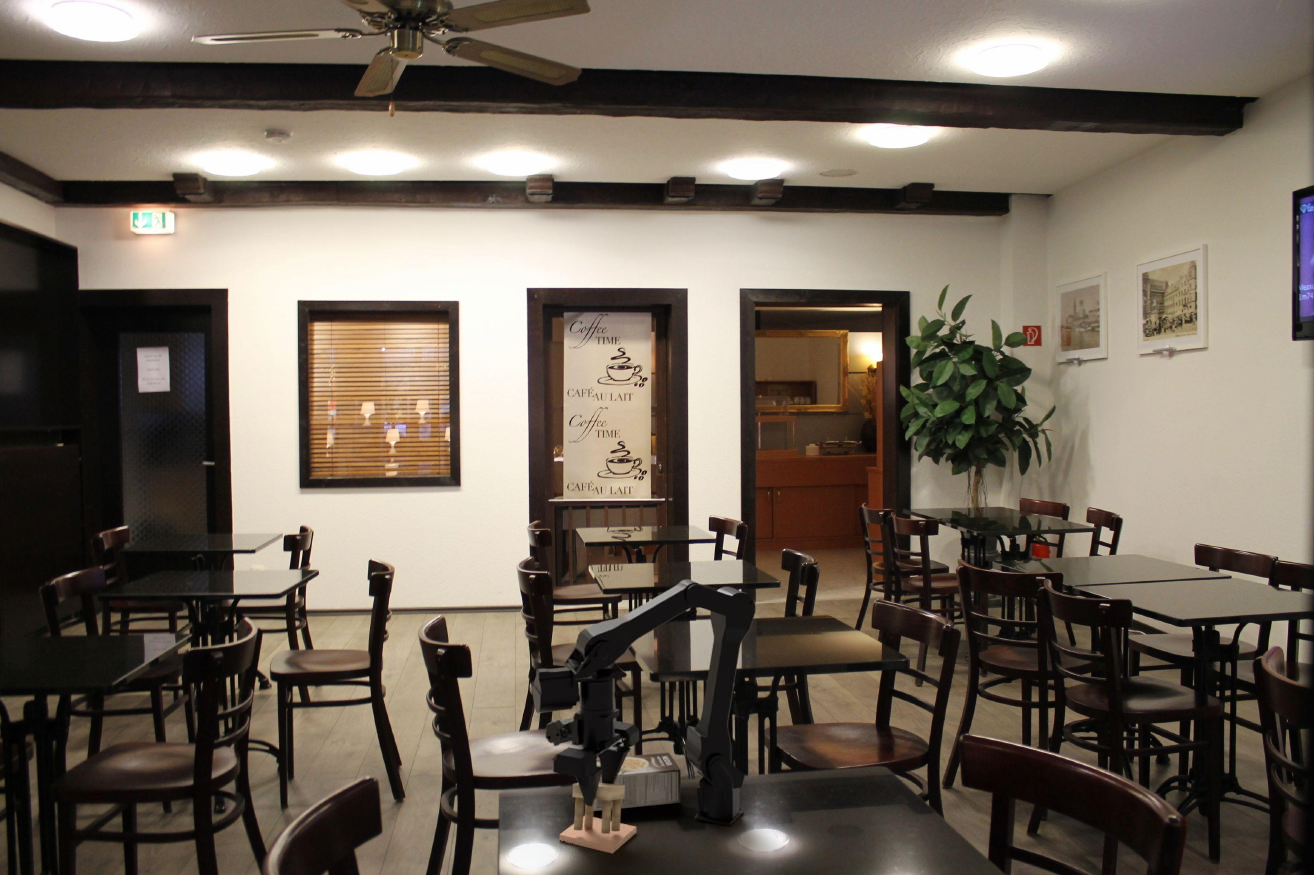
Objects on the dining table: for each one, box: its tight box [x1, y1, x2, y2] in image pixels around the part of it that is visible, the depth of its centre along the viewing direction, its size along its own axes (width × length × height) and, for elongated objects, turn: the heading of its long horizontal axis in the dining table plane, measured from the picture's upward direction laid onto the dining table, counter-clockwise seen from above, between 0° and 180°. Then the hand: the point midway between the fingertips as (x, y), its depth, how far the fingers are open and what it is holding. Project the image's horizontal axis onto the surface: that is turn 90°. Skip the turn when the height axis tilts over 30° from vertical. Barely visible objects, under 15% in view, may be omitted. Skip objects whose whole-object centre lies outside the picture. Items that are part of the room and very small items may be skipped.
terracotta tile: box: [559, 815, 637, 854], centre depth 148 cm, size 10×8×1 cm
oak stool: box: [572, 782, 625, 834], centre depth 147 cm, size 7×5×7 cm
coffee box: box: [593, 752, 682, 812], centre depth 163 cm, size 9×6×16 cm
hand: (598, 798), depth 148 cm, fingers closed on oak stool, 5 cm apart
